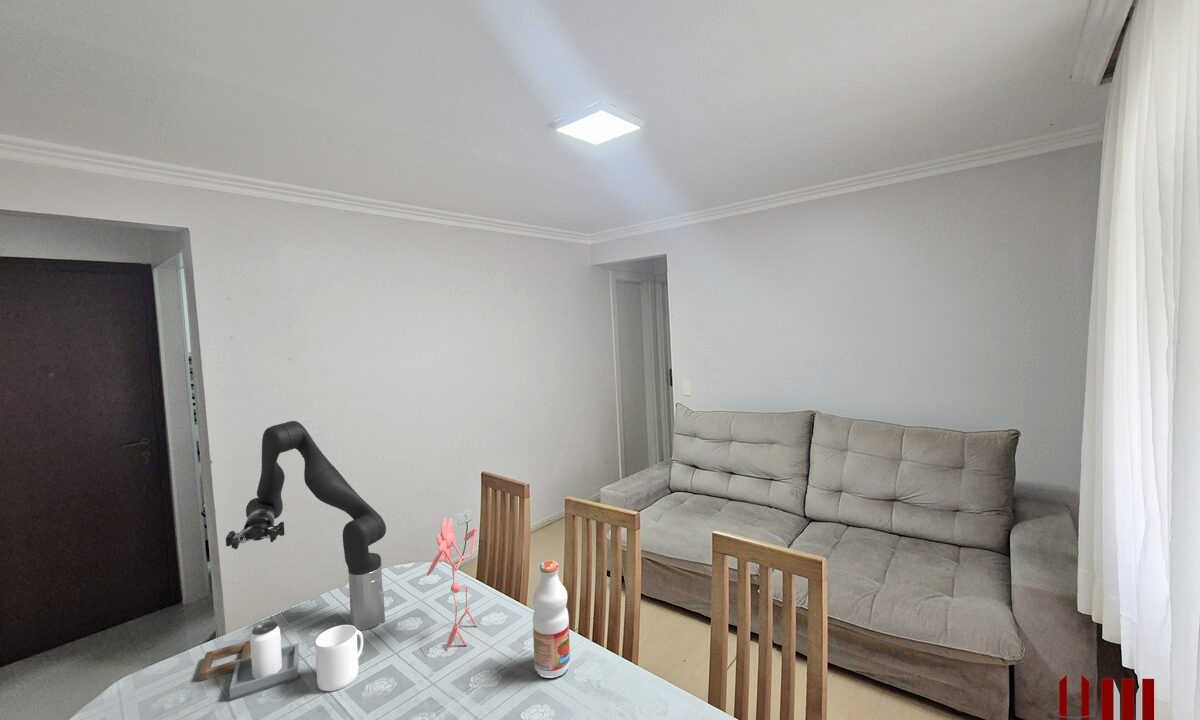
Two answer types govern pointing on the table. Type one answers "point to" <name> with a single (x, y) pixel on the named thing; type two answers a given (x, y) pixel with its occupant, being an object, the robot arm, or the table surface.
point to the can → (266, 650)
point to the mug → (337, 657)
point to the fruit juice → (550, 623)
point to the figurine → (445, 543)
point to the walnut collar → (220, 653)
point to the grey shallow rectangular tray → (249, 685)
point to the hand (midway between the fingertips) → (253, 542)
